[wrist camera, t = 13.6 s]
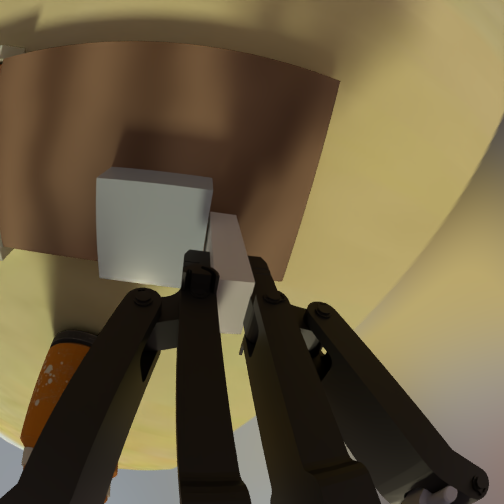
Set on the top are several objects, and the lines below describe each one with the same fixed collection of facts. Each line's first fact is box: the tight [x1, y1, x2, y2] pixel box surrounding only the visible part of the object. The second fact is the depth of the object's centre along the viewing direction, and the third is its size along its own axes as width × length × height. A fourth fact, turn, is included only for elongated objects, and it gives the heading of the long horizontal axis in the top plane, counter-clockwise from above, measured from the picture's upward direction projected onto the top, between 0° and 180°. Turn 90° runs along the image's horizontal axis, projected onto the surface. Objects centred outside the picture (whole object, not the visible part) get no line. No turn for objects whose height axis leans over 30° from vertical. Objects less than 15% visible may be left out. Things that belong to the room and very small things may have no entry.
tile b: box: [96, 167, 213, 288], centre depth 15 cm, size 6×6×2 cm
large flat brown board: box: [0, 41, 340, 281], centre depth 15 cm, size 22×14×2 cm, turn 77°
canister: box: [20, 330, 118, 503], centre depth 16 cm, size 9×11×20 cm
